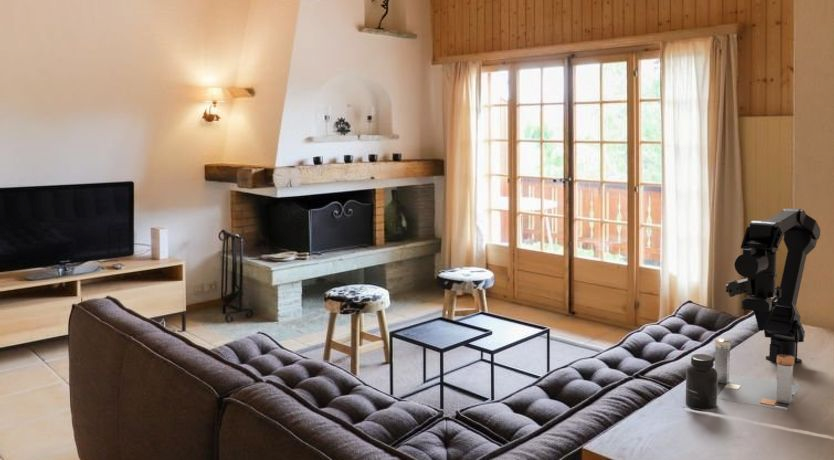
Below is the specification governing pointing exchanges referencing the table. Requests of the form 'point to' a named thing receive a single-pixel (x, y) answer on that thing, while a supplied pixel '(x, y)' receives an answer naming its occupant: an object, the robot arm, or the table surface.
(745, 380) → the switch board
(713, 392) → the supplement bottle
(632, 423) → the table surface
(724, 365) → the lever
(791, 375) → the lever
